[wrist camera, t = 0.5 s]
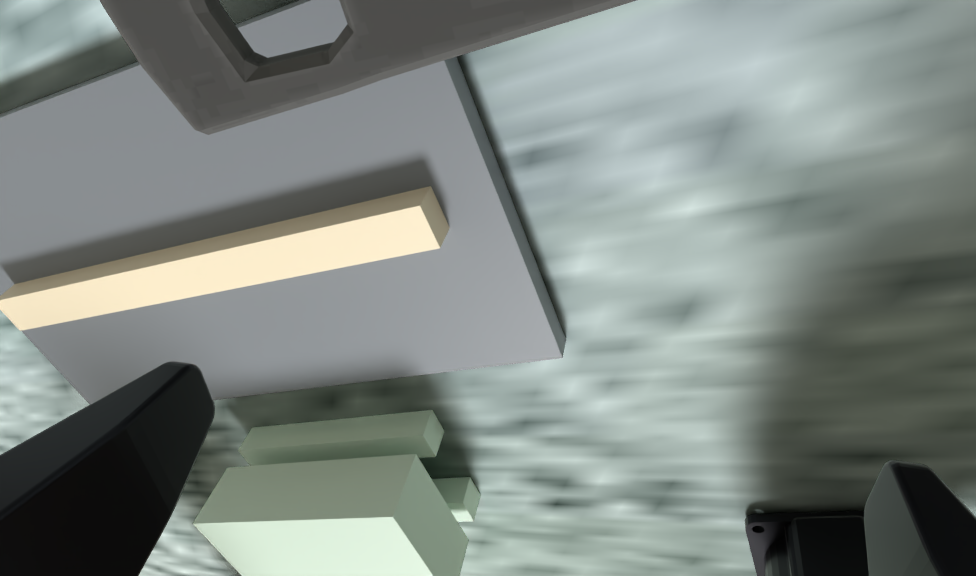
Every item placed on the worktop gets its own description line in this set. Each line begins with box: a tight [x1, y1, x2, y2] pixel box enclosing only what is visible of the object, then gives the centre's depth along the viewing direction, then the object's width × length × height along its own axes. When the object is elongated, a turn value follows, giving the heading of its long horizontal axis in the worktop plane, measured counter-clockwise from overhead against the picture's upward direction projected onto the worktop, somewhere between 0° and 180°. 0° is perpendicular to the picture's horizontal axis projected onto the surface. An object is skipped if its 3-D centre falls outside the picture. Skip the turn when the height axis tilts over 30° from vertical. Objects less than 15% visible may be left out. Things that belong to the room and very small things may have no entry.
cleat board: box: [0, 0, 566, 404], centre depth 26 cm, size 14×24×2 cm, turn 111°
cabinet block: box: [193, 410, 481, 576], centre depth 32 cm, size 6×11×6 cm, turn 111°
